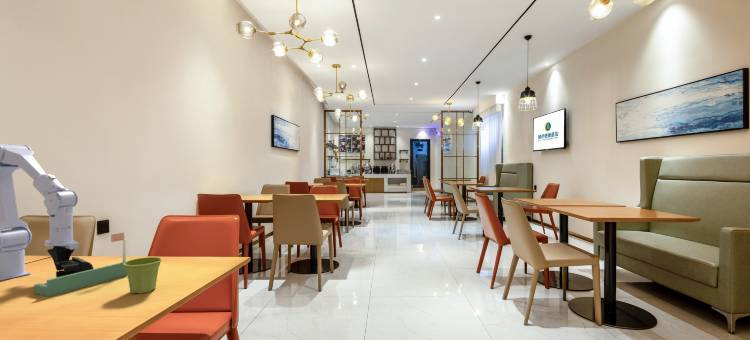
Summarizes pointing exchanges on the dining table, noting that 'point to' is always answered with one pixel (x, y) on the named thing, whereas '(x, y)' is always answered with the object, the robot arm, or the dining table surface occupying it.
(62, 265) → the black plastic holder
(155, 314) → the dining table surface
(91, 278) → the putting pocket
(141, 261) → the plant pot
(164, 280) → the dining table surface
